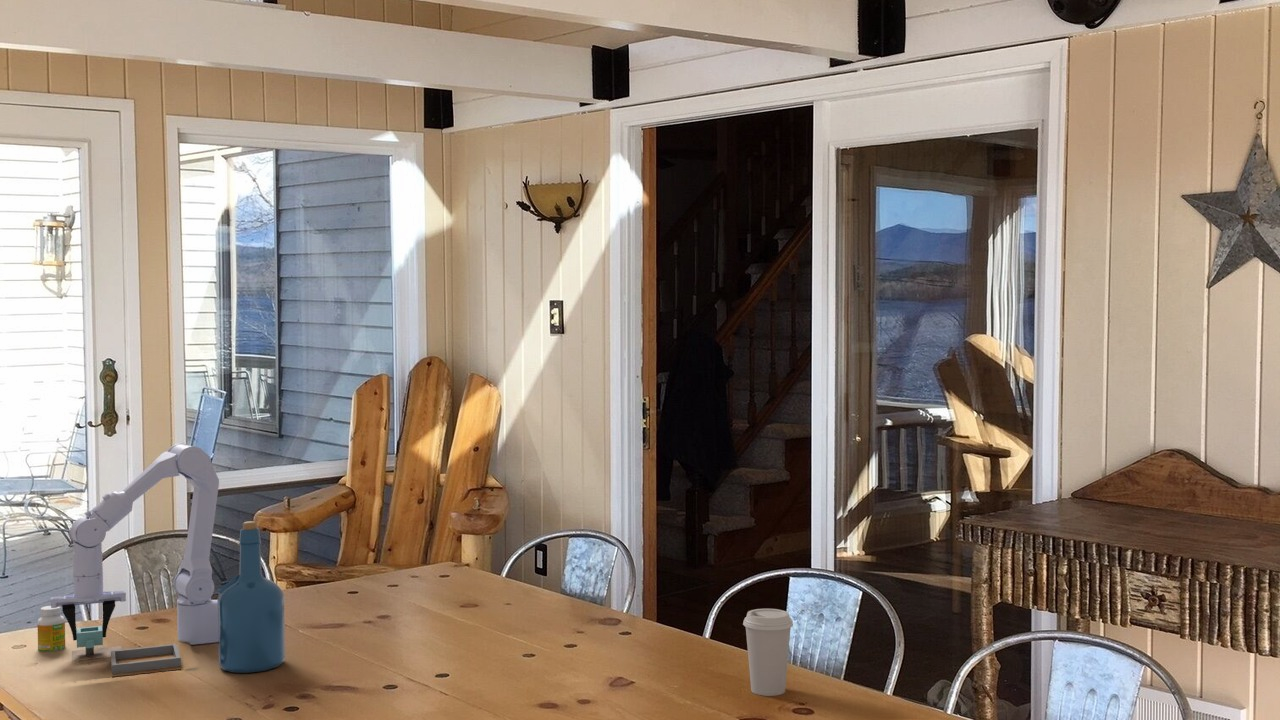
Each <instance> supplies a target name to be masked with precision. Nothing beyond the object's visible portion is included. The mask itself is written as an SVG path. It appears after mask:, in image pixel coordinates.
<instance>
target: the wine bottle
mask: <svg viewBox="0 0 1280 720" xmlns="http://www.w3.org/2000/svg"><path fill="white" fill-rule="evenodd" d="M239 531H240V533H239V540H238V541H239V543H238V545H239V574H238V575H236V576H234V577H233V578H232V579H230V580H228V582H226V583H225V584H223V585H222V586H221V587H220V588H219V590H218V591H217V592H218V597H217V600H218V642H217V645H218V646H217V648H218V649H217V650H218V663H219V666H220V667H221V670H222V671H226V672H231V673H233V674H234V673H236V674H253V673H261V672H265V671H268V670H272V669H275V668H277V667H279V666H281V665H282V664H284V661H285V659H286V642H285V641H286V639H285V638H286V637H285V636H286V632H285V629H286V628H285V626H286V625H285V623H286V622H285V594H284V593H283V590H282V588H281V587H280V586H279V585H278V584H277V583H276V582H275V581H273V580H271V579H268V578H265V577H264V576H263V573H262V557H261V555H262V554H261V552H262V551H261V544H262V540H261V539H262V538H261V534H260V533H261V532H260V528H259V527H258V523H257V521H254V520H253V521H252V520H250V521H245V522H243V523H242V528H241V529H240V530H239Z"/></svg>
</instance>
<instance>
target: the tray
mask: <svg viewBox="0 0 1280 720" xmlns="http://www.w3.org/2000/svg"><path fill="white" fill-rule="evenodd" d="M171 654H173V657H167V658H158V659H149V660H147V659H146V660H139V661H138V660H137V661H130V662H122V663H117V660H123V659H135V658H142V657H143V658H144V657H152V656H160V655H171ZM110 664H111V665H110V666H111V674H112V675H114V674H125V673H130V672H131V673H132V674H125V675H115V676H111V678H122V677H130V676H139V675H148V674H155V673H163V672H164V673H165V672H173V671H181V670H182V668H179V667H182V657H181V653H180V650H179V647H178V644H177V643H172V644H164V645H154V646H153V645H152V646H145V647H136V648H126V649H123V650H115V651H111V657H110ZM177 667H178V668H177ZM168 668H177V669H168ZM157 669H166V670H159V671H150V672H142V671H149V670H157ZM167 669H168V670H167ZM140 671H141V672H140ZM134 672H138V673H134ZM139 672H140V673H139Z"/></svg>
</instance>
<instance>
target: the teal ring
mask: <svg viewBox="0 0 1280 720" xmlns="http://www.w3.org/2000/svg"><path fill="white" fill-rule="evenodd" d="M76 630H77V640H76V648H78V649H79V648H85V649H86V648H94V649H95V646H103V645H104V640H103V638H104V637H103V632H102V625H94V626H84V627H83V626H82V627H76Z"/></svg>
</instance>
